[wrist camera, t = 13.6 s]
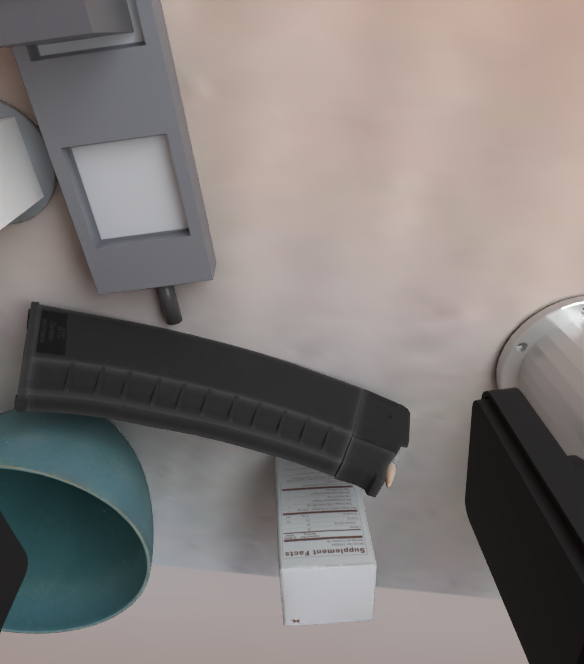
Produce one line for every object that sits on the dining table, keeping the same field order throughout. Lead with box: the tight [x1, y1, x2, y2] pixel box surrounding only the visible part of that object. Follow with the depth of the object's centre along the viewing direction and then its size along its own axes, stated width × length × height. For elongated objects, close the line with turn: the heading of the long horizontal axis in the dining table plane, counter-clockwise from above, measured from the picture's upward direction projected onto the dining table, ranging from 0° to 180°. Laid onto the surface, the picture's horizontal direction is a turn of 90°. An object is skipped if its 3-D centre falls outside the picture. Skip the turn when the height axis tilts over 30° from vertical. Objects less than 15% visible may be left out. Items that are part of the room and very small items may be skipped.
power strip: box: [11, 0, 216, 325], centre depth 31 cm, size 28×8×4 cm, turn 7°
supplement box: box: [275, 456, 377, 626], centre depth 44 cm, size 7×7×13 cm
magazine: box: [14, 302, 410, 497], centre depth 38 cm, size 17×3×30 cm
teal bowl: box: [0, 409, 153, 634], centre depth 40 cm, size 18×18×12 cm
